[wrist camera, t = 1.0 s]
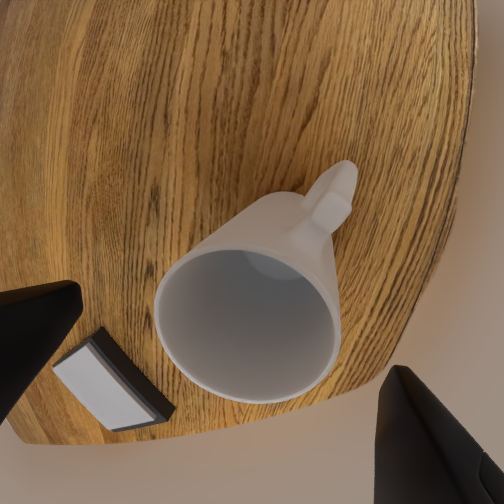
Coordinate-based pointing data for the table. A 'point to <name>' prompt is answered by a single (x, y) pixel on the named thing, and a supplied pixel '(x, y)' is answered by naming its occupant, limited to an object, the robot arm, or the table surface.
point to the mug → (261, 296)
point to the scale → (111, 385)
